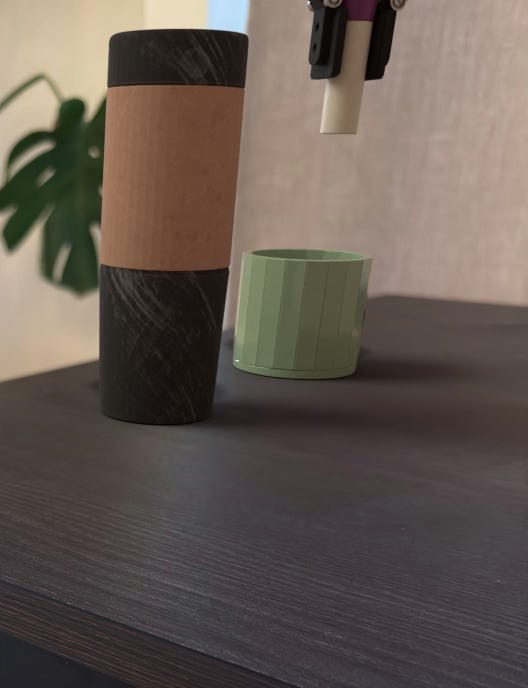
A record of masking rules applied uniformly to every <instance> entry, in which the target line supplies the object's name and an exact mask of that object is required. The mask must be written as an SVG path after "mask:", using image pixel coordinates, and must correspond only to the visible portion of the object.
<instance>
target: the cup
mask: <svg viewBox="0 0 528 688" xmlns="http://www.w3.org/2000/svg"><path fill="white" fill-rule="evenodd" d="M374 259H375V256H373V255H371V254H369V253H363V252H358V251H349V250H340V249H339V250H338V249H326V248H291V247H289V248H288V247H284V248H283V247H281V248H280V247H279V248H276V247H275V248H274V247H273V248H255V249H247V250H245V251H243V252H242V255H241V264H240V274H239V285H238V294H237V295H238V296H237V305H236V306H237V307H236V315H235V316H236V317H235V327H234V336H233V347H232V365H233V367H234V368H236V369H238V370H240V371H243V372H245V373H250V374H252V375H253V374H254V375H258V376H259V375H260V376H264V377H270V378H278V379H279V378H280V379H291V380H292V379H293V380H328V379H329V380H331V379H338V378H343V377H347V376H350V375H353V374H355V372H356V371H357V363H358V361H359V355H360V349H361V341H362V337H363V336H362V335H363V331H364V330H363V329H364V323H365V317H366V310H367V304H368V297H369V291H370V286H371V285H370V284H371V279H372V273H373V266H374Z"/></svg>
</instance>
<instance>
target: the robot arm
mask: <svg viewBox="0 0 528 688" xmlns="http://www.w3.org/2000/svg"><path fill="white" fill-rule="evenodd" d="M342 1H343V0H307V8H308V10H309V11H310V12H311V13H313V15H312V16H313V17H312V25H311V34H310V41H309V42H310V43H309V49H308V64H309V65H310V75H309V77H310V79H311V80H315V81H317V80H318V81H319V80H327V79H328V78H335V77H337V76H338V75H339V74H340V71H341V64H342V56H343V49H344V42H345V34H346V27H347V20H348V12H347V8H342ZM407 3H408V0H377V4H376V11H375V18H374V22H373V26H372V33H371V40H370V47H369V54H368V61H367V67H366V74H365V81H364V82H367V81H368V82H369V81H377V80H382V79H383V78H384V76H385V73H386V67H387V66H388V64H389V63H390V62H389V61H390V60H391V59H390V58H391V52H392V46H393V39H394V33H395V27H396V21H397V16H398V15H397V14H398V12H401V11H402V10H403V9H404V8H405V7H406V5H407Z"/></svg>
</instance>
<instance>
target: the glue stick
mask: <svg viewBox="0 0 528 688" xmlns="http://www.w3.org/2000/svg"><path fill="white" fill-rule="evenodd" d="M376 4H377V0H343V1H342V8H347V12H348V20H347V27H346V34H345V42H344V49H343V56H342V64H341V71H340V74H339V75H338V76H337V77H335V78H328V79H326V82H325V83H326V84H325V89H324V99H323V105H322V114H321V119H320V120H321V121H320V129H319V134H320V135H357V134H358V129H359V122H360V116H361V115H360V114H361V109H362V108H361V107H362V102H363V101H362V100H363V94H364V87H365V82H366V81H365V74H366V67H367V61H368V54H369V47H370V40H371V33H372V26H373V22H374V18H375V11H376Z"/></svg>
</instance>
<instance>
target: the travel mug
mask: <svg viewBox="0 0 528 688" xmlns="http://www.w3.org/2000/svg"><path fill="white" fill-rule="evenodd" d="M249 38H250V37H249V35H247V34H245V33H243V32H239V31H233V30H224V29H212V28H211V29H209V28H208V29H207V28H150V29H149V28H148V29H137V30H136V29H135V30H134V29H133V30H126V31H120V32H116V33H113V34H112V35H111V36H110V37H109V39H108V53H107V54H108V55H107V80H106V81H107V82H106V87H107V88H106V103H105V126H104V127H105V128H104V152H103V174H102V175H103V176H102V198H101V220H100V221H101V222H100V242H99V243H100V244H99V263H100V266H99V276H98V277H99V281H98V282H99V285H98V286H99V293H98V294H99V298H98V301H99V302H98V303H99V304H98V305H99V306H98V307H99V311H98V313H99V315H98V318H99V319H98V322H99V323H98V406H99V410H100V412H101V413H102V414H103V415H105V416H107V417H110V418H113V419H116V420H120V421H123V422H129V423H138V424H145V425H146V424H147V425H177V424H187V423H195V422H199V421H202V420H205V419H207V418H208V417H209V416H211V414H212V411H213V408H214V407H213V405H214V399H215V392H216V384H217V376H218V368H219V360H220V354H221V353H220V351H221V344H222V335H223V326H224V318H225V312H226V311H225V310H226V303H227V293H228V288H229V287H228V286H229V280H230V279H229V277H230V266H231V262H232V261H231V259H232V248H233V247H232V246H233V238H234V226H235V213H236V201H237V191H238V190H237V187H238V177H239V167H240V166H239V165H240V153H241V140H242V128H243V117H244V105H245V95H246V94H245V93H246V90H245V88H246V82H247V71H248V70H247V69H248V57H249V45H250V44H249V43H250V39H249Z"/></svg>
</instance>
